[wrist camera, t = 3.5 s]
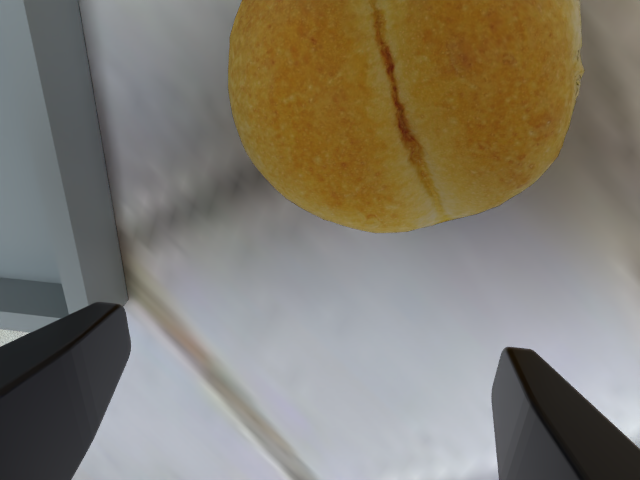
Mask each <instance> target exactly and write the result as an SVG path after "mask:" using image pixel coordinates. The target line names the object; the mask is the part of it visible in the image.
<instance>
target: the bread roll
mask: <svg viewBox="0 0 640 480" xmlns="http://www.w3.org/2000/svg"><path fill="white" fill-rule="evenodd" d="M581 47H582V35H581V16H580V0H242V2H241V5H240V7H239V10H238V12H237V15H236V17H235V21H234V24H233V28H232V31H231V35H230V49H229V65H228V91H229V99H230V104H231V109H232V115H233V119H234V122H235V125H236V128H237V131H238V134H239V136H240V139H241V142H242V144H243V147H244V149H245V151H246V153H247V155H248V156H249V158H250V159H251V161H252V162H253V164H254V165H255V166H256V168H257V169H258V170H259V171H260V173H261V174H262V175H263V176H264V177H265V178H266V179H267V181H268V182H269V183H270V184H271V185H272V186H273V187H274V188H275V189H276V190H277V191H278V192H280V193H281V194H282V195H283V196H284V197H285V198H286V199H288V200H290V201H291V202H293V203H294V204H296V205H297V206H299V207H301V208H302V209H304V210H306V211H308V212H310V213H312V214H314V215H316V216H318V217H320V218H322V219H323V220H327V221H331V222H334V223H337V224H340V225H343V226H346V227H350V228H354V229H358V230H363V231H367V232H373V233H397V232H408V231H411V230H415V229H419V228H424V227H428V226H432V225H435V224H438V223H442V222H445V221H449V220H453V219H458V218H462V217H466V216H470V215H474V214H478V213H481V212H484V211H486V210H489V209H491V208H494V207H497V206H499V205H501V204H502V203H504V202H505V201H507V200H509V199H510V198H512V197H514V196H515V195H517V194H519V193H520V192H522V191H524V190H525V189H527V188H528V187H530V186H531V185H532V184H533V183H534V182H535V181H537V180H538V179H539V178H540V177H541V176H542V175H543V173H544V172H545V171H546V170H547V169H548V168H549V167H550V166H551V164H552V163H553V162H554V160H555V159H556V158H557V157H558V155H559V152H560V150H561V148H562V146H563V143H564V139H565V136H566V133H567V131H568V129H569V125H570V121H571V117H572V113H573V110H574V105H575V103H576V98H577V96H578V95H579V88H580V86H581V85H580V80H581V78H582V75H583V73H584V68H583V66H582V62H581V56H580V49H581Z"/></svg>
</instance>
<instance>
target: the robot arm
mask: <svg viewBox="0 0 640 480" xmlns="http://www.w3.org/2000/svg"><path fill="white" fill-rule="evenodd" d="M130 351H131V340H130V335H129V329H128V323H127V317H126V312H125V309H124V307H123V306H122V305H120V304H118V303H109V302H95V303H93V304H91V305H89V306H86V307H84V308H82V309H80V310H78V311H76V312H74V313H71V314H69V315H67V316H65V317H63V318H61V319H59V320H57V321H54V322H52V323H50V324H48V325H46V326H44V327H42V328H39V329H37V330H35V331H33V332H31V333H29V334H27V335H25V336H22V337H20V338H18V339H16V340H14V341H12V342H10V343H7V344H5V345H3V346H1V347H0V480H71V479H72V477H73V476H74V474H75V472H76V470H77V469H78V467H79V465H80V463H81V461H82V460H83V458H84V456H85V454H86V452H87V450H88V449H89V447H90V445H91V443H92V441H93V439H94V437H95V435H96V433H97V430H98V428H99V426H100V424H101V422H102V419H103V417H104V415H105V412H106V410H107V408H108V405H109V403H110V401H111V398H112V396H113V394H114V391H115V389H116V387H117V384H118V382H119V380H120V377H121V375H122V373H123V370H124V368H125V366H126V363H127V361H128V358H129V355H130ZM492 411H493V421H494V431H495V442H496V452H497V463H498V473H499V480H640V449H639V448H638V447H637V446H636V445H635V444H634V443H633V442H632V441H631V440H630V439H629V438H628V437H626V436H625V435H624V434H623V433H622V432H621V431H620V430H619V429H618V428H617V427H616V426H615V425H614V424H612V423H611V422H610V421H609V420H608V419H607V418H606V417H605V416H604V415H603V414H602V413H601V412H599V411H598V410H597V409H596V408H595V407H594V406H593V405H592V404H591V403H590V402H589V401H588V400H587V399H585V398H584V397H583V396H582V395H581V394H580V393H579V392H578V391H577V390H576V389H575V388H574V387H573V386H571V385H570V384H569V383H568V382H567V381H566V380H565V379H564V378H563V377H562V376H561V375H560V374H558V373H557V372H556V371H555V370H554V369H553V368H552V367H551V366H550V365H549V364H548V363H547V362H546V361H544V360H543V359H542V358H541V357H540V356H539V355H538V354H537V353H536V352H534V351H533V350H531V349H525V348H515V347H506V348H505V349H504V350H503V351H502V353H501V356H500V360H499V364H498V368H497V371H496V375H495V379H494V383H493V387H492Z"/></svg>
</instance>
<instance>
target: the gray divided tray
mask: <svg viewBox="0 0 640 480" xmlns="http://www.w3.org/2000/svg"><path fill="white" fill-rule="evenodd" d="M127 301H128V295H127V289H126V283H125V278H124V272H123V266H122V260H121V254H120V248H119V242H118V236H117V230H116V224H115V218H114V212H113V206H112V200H111V195H110V189H109V183H108V177H107V171H106V165H105V159H104V153H103V147H102V141H101V135H100V129H99V123H98V117H97V112H96V106H95V100H94V94H93V88H92V82H91V76H90V70H89V64H88V58H87V52H86V46H85V40H84V34H83V29H82V23H81V17H80V11H79V5H78V0H0V329H5V330H13V331H22V332H33V331H35V330H37V329H39V328H42V327H44V326H46V325H48V324H50V323H52V322H54V321H57V320H59V319H61V318H63V317H65V316H67V315H69V314H71V313H74V312H76V311H78V310H80V309H82V308H84V307H86V306H89V305H91V304H93V303H95V302H109V303H118V304H120V305H122V306H124V305H125V303H126V302H127Z"/></svg>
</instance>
